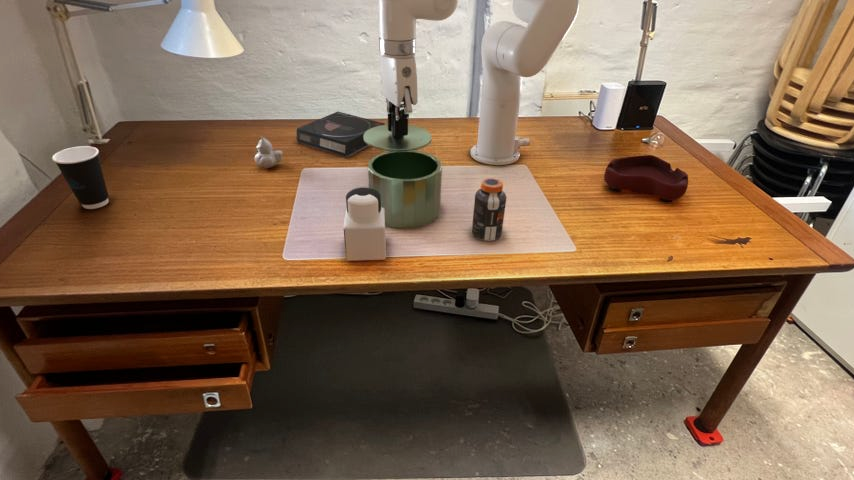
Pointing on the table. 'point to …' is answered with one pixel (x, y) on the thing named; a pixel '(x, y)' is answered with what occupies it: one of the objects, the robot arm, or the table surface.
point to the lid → (388, 142)
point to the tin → (407, 187)
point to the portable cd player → (336, 133)
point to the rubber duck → (267, 154)
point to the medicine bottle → (364, 225)
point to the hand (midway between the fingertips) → (397, 132)
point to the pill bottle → (489, 210)
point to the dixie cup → (83, 175)
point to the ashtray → (646, 177)
